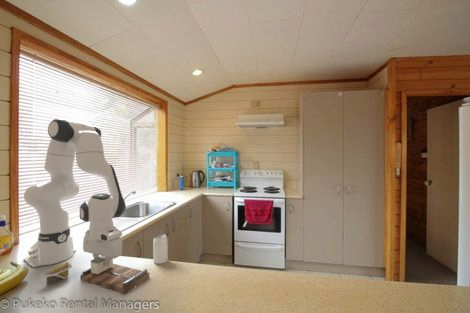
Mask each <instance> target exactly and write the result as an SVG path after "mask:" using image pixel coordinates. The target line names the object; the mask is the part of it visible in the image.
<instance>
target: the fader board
mask: <svg viewBox="0 0 470 313" xmlns="http://www.w3.org/2000/svg"><path fill="white" fill-rule="evenodd" d="M149 278H150V272H149V271H148V269H147V268H144V269H143V270H139V269H138V268H132V267H128V266H125V265H120V264H116V263H113V267H111V268H109V269H107V270H105V271H103V272H101V273H99V274H95V273H91V267H89V268H87V269H85V270H83V271H82V274H80V281H82V282H85V283H88V284H92V285H94V286H97V287H100V288H104V289H106V290H110V291H113V292H116V291H117V292H116V293H119V292H120V293H119V294H122V293H123V294H122V295H126V294H128V293H129V292H131V291H132V290H133V289H135V288H136V287H137V286H139V285H140V284H142V283H143V282H145V281H146V280H148V279H149ZM141 282H142V283H141ZM135 286H136V287H135ZM134 287H135V288H134ZM131 289H132V290H131Z"/></svg>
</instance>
